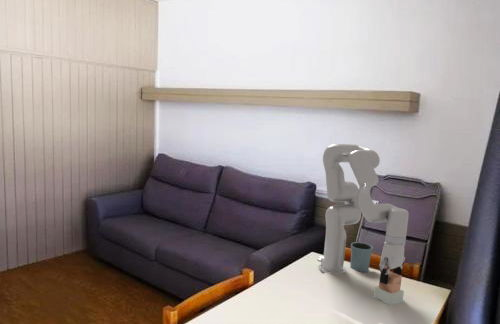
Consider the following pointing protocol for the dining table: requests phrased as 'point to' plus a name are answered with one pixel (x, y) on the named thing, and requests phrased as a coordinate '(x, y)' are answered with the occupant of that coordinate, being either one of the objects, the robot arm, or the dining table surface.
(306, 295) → the dining table surface
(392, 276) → the top block
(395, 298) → the base block
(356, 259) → the teal cup
